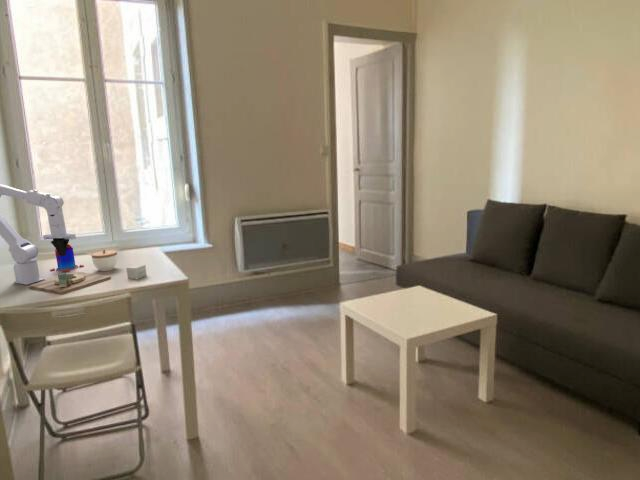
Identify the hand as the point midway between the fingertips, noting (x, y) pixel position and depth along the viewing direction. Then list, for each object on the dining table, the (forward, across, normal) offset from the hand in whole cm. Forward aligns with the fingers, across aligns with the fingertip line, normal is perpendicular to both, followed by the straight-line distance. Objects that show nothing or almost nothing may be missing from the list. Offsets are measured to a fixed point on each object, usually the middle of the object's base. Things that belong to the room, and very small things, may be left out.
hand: (62, 255), depth 195 cm
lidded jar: (+11, +7, +16) cm, 21 cm away
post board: (+10, +6, -5) cm, 13 cm away
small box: (+11, +30, +6) cm, 33 cm away
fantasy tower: (+11, -14, +16) cm, 24 cm away
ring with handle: (+9, +7, -7) cm, 14 cm away
